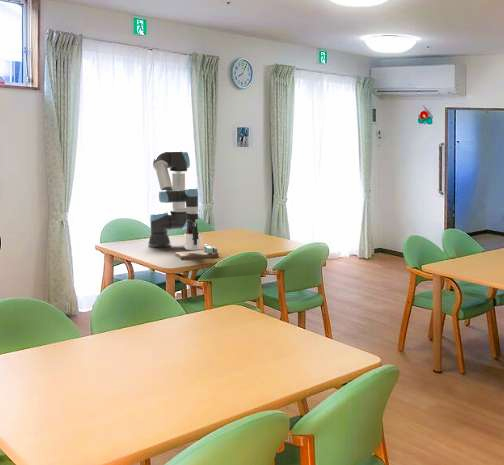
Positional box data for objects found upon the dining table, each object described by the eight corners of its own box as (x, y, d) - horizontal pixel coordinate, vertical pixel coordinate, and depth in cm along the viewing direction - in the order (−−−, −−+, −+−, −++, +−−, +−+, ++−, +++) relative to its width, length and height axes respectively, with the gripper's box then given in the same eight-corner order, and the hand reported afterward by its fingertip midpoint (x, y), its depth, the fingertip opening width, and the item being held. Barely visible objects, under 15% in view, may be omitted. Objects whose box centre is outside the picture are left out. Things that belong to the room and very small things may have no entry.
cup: (198, 250, 382) (197, 234, 381) (182, 250, 384) (182, 234, 383) (202, 247, 392) (202, 232, 390) (187, 247, 394) (187, 231, 392)
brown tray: (175, 255, 393) (174, 247, 393) (211, 252, 402) (211, 244, 401) (181, 259, 380) (181, 251, 379) (218, 256, 389) (218, 248, 388)
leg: (203, 249, 399) (203, 244, 398) (208, 249, 400) (208, 244, 399) (208, 253, 387) (207, 247, 387) (212, 252, 388) (212, 247, 388)
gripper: (181, 211, 394) (181, 245, 397) (191, 215, 373) (191, 251, 376) (192, 210, 396) (193, 245, 400) (203, 214, 376) (203, 251, 379)
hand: (192, 248), depth 388 cm, fingers closed on cup, 10 cm apart
